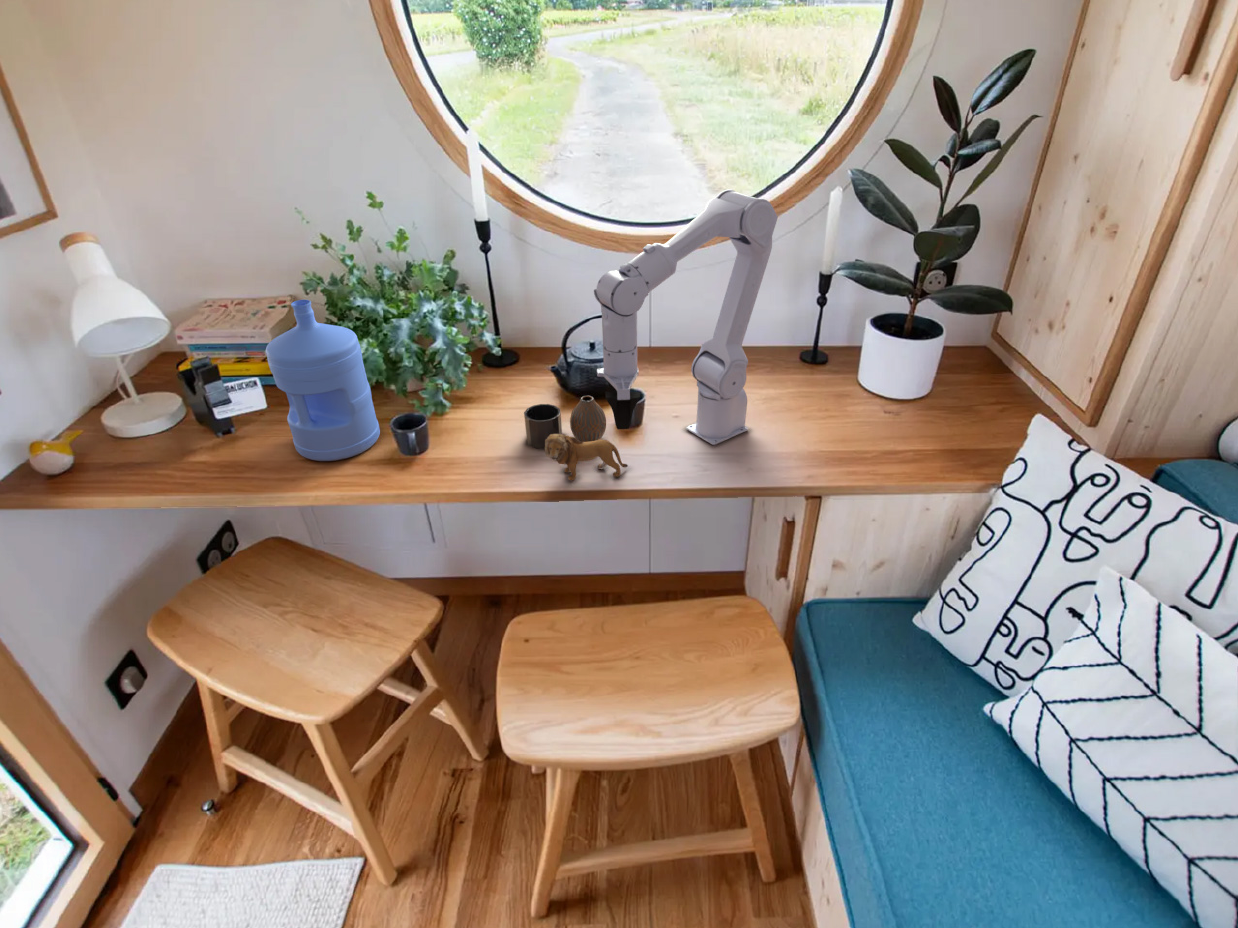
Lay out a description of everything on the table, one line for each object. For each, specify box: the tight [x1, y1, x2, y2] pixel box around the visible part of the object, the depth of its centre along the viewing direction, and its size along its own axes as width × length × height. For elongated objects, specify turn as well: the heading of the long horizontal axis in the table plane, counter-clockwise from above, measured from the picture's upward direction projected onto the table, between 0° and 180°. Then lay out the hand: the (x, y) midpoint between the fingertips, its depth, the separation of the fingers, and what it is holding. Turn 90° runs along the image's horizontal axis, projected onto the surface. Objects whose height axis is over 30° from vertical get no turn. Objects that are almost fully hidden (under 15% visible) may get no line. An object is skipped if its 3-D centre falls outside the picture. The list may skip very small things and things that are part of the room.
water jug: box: [265, 299, 381, 462], centre depth 125 cm, size 16×16×28 cm
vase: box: [569, 395, 607, 442], centre depth 130 cm, size 7×7×9 cm
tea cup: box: [523, 403, 563, 450], centre depth 131 cm, size 7×7×6 cm
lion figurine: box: [544, 433, 629, 482], centre depth 120 cm, size 15×5×9 cm, turn 104°
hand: (621, 417), depth 121 cm, fingers open, 7 cm apart
